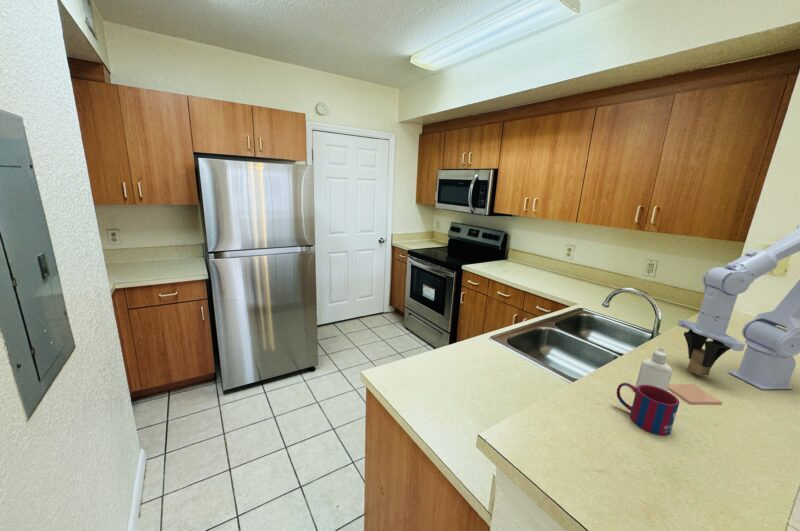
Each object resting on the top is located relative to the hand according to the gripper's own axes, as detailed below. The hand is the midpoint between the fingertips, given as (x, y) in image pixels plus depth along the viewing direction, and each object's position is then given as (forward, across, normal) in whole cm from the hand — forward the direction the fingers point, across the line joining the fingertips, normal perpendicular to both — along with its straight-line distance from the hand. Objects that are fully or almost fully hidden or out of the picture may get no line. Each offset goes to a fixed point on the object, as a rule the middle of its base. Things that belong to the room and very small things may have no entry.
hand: (699, 362), depth 85 cm
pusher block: (+3, 0, 0) cm, 3 cm away
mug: (+4, +15, -31) cm, 35 cm away
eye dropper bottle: (+4, +7, -21) cm, 22 cm away
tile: (+4, +8, -7) cm, 11 cm away
